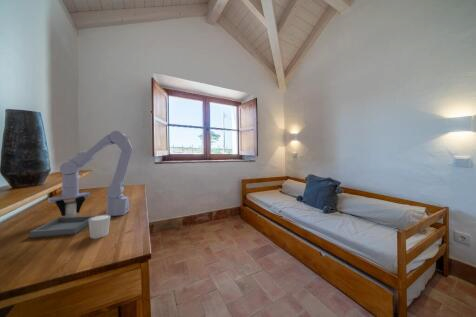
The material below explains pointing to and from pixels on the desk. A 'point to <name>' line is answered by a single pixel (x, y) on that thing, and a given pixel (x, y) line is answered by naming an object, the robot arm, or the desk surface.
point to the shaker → (71, 209)
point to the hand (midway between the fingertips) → (70, 213)
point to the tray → (61, 227)
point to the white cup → (99, 226)
